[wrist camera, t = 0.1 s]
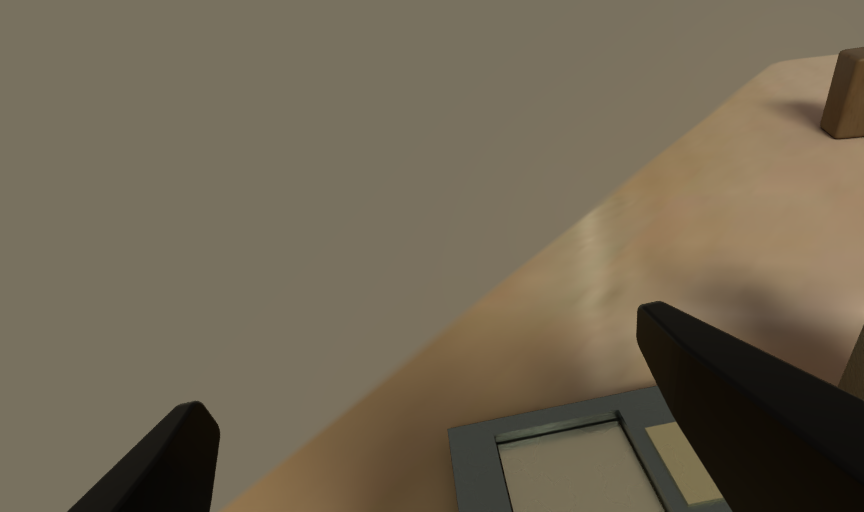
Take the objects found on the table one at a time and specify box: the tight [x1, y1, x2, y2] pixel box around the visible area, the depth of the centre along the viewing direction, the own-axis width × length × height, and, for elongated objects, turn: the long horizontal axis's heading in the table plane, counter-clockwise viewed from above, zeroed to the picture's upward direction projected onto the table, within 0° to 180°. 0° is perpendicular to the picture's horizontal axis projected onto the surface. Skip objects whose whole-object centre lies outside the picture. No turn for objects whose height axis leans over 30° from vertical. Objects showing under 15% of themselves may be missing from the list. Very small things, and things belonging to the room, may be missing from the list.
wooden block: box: [820, 47, 864, 139], centre depth 45 cm, size 4×4×8 cm
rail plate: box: [448, 386, 732, 512], centre depth 21 cm, size 11×14×1 cm
